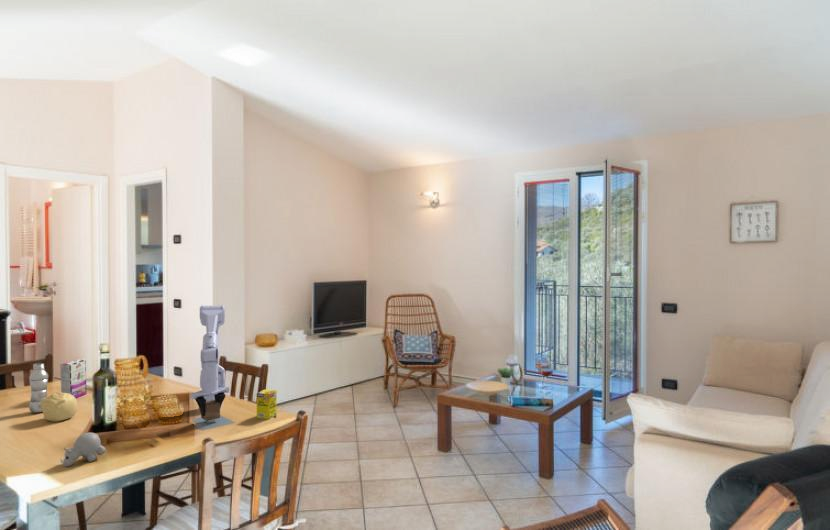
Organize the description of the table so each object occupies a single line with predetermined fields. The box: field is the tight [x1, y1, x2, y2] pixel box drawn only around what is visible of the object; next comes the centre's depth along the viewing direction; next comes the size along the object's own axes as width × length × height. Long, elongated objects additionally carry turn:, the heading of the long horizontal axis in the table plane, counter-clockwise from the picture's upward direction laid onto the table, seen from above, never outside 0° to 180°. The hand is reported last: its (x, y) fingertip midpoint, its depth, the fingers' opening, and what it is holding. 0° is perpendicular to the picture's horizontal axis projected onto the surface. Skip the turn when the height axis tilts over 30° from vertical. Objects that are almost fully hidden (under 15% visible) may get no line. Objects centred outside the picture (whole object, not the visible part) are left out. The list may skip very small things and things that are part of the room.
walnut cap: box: [200, 400, 221, 421], centre depth 205 cm, size 5×5×6 cm
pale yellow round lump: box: [40, 391, 79, 423], centre depth 211 cm, size 12×12×11 cm
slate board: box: [193, 414, 236, 431], centre depth 205 cm, size 16×13×1 cm
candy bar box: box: [59, 358, 88, 399], centre depth 244 cm, size 11×5×16 cm, turn 179°
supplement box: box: [256, 389, 278, 420], centre depth 212 cm, size 6×6×11 cm
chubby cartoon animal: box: [59, 432, 107, 468], centre depth 168 cm, size 7×12×8 cm, turn 143°
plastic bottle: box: [28, 362, 49, 414], centre depth 220 cm, size 6×7×20 cm
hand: (210, 414), depth 205 cm, fingers closed on walnut cap, 5 cm apart
